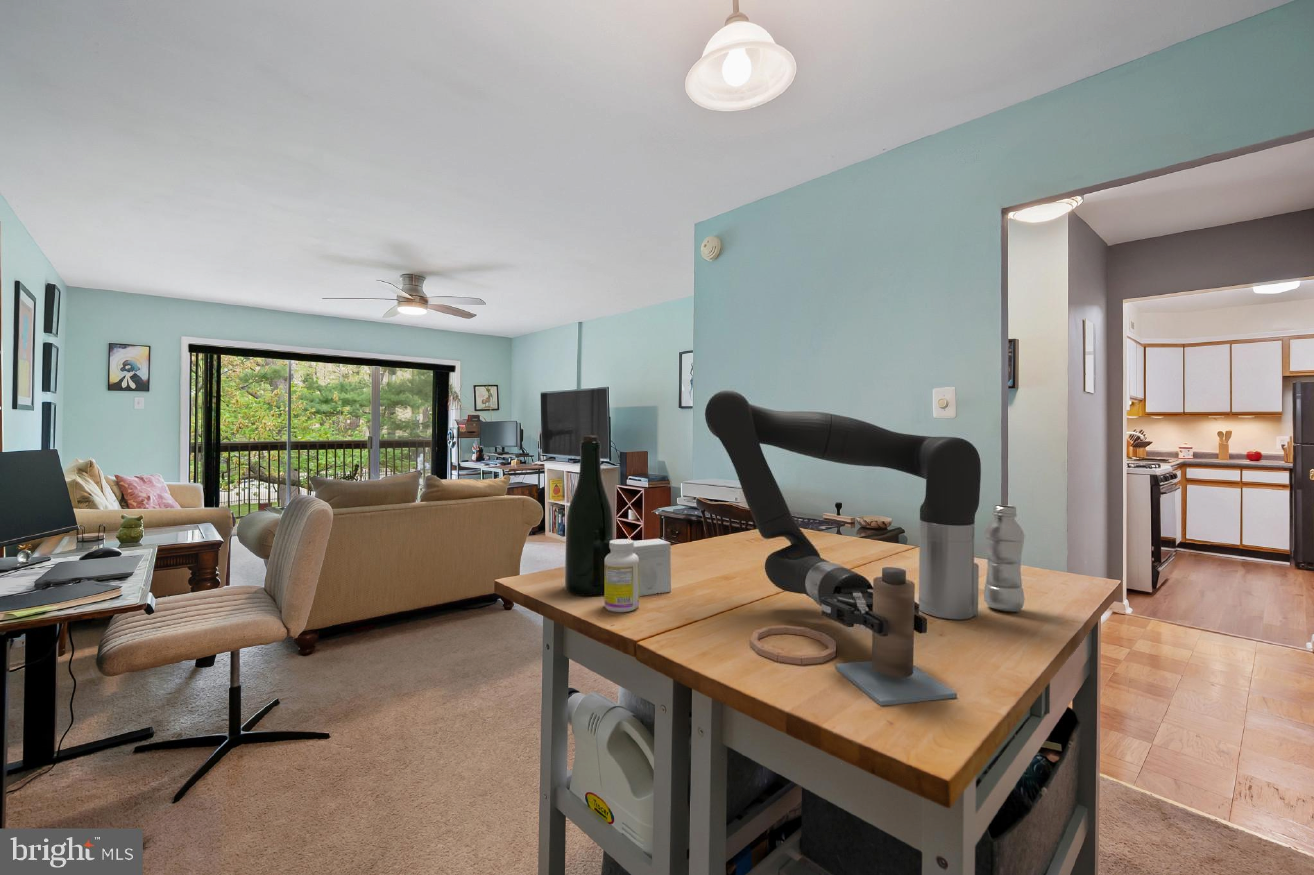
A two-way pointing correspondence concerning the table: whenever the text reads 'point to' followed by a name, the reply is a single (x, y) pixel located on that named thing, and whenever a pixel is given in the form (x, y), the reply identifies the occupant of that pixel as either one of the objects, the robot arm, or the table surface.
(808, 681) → the table surface
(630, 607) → the supplement bottle
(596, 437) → the wine bottle
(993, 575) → the plastic bottle
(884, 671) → the pepper mill
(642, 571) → the skincare box
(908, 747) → the table surface
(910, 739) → the table surface
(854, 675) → the mat
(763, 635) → the pinkish tan segmented ring
